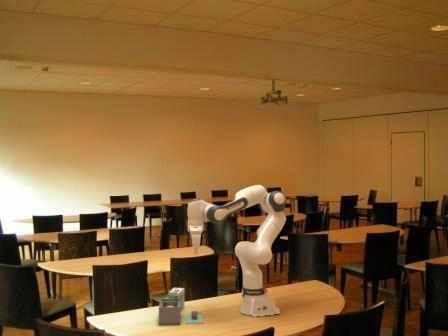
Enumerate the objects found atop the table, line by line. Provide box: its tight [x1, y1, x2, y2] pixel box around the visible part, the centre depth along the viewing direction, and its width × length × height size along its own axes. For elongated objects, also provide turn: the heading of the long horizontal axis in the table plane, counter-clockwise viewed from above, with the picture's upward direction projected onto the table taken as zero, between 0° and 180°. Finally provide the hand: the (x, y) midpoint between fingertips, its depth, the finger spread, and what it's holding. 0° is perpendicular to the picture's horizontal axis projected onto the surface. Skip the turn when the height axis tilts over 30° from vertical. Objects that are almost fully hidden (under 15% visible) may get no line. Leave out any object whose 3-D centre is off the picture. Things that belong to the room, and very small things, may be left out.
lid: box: [185, 310, 204, 325], centre depth 244 cm, size 9×13×5 cm
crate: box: [158, 298, 182, 326], centre depth 243 cm, size 11×15×9 cm
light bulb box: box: [167, 287, 185, 310], centre depth 262 cm, size 11×7×11 cm, turn 168°
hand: (195, 252), depth 253 cm, fingers open, 8 cm apart
